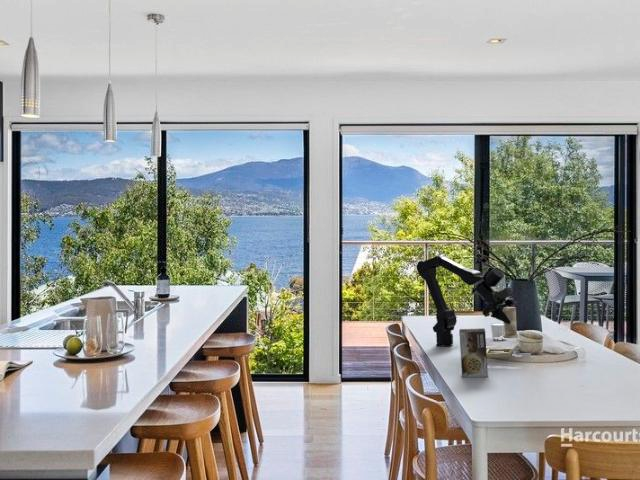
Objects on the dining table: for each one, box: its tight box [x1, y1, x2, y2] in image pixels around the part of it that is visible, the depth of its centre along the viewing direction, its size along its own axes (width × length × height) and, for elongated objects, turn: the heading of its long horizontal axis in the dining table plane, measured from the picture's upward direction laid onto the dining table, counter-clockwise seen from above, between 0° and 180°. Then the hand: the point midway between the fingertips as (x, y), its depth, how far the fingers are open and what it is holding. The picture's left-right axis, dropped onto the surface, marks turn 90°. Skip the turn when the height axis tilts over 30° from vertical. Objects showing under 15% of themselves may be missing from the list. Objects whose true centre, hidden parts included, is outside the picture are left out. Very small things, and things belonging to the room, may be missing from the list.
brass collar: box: [486, 349, 513, 359], centre depth 266 cm, size 10×10×2 cm
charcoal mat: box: [487, 352, 532, 360], centre depth 271 cm, size 24×24×1 cm
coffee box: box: [458, 327, 489, 378], centre depth 237 cm, size 9×6×16 cm
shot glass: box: [490, 322, 505, 339], centre depth 305 cm, size 7×7×7 cm
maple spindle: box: [503, 306, 520, 339], centre depth 274 cm, size 6×6×12 cm
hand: (513, 322), depth 273 cm, fingers closed on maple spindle, 5 cm apart
